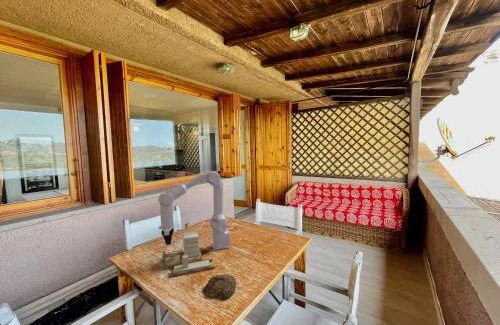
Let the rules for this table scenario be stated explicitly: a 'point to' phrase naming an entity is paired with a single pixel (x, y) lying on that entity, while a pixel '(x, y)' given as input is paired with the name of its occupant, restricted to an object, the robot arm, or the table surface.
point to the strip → (190, 265)
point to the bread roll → (220, 287)
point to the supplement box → (191, 244)
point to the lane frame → (194, 269)
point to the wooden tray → (176, 259)
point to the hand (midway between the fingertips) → (168, 244)
